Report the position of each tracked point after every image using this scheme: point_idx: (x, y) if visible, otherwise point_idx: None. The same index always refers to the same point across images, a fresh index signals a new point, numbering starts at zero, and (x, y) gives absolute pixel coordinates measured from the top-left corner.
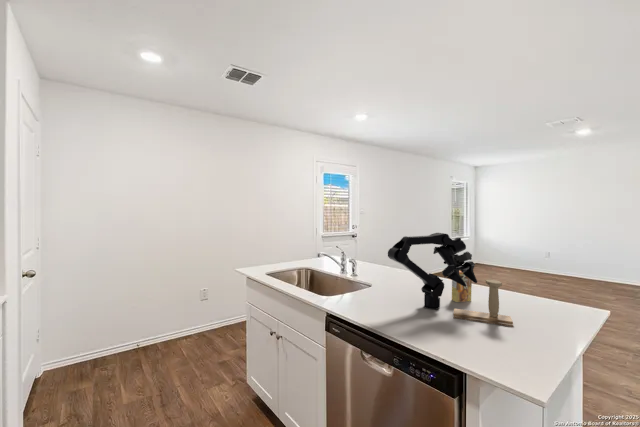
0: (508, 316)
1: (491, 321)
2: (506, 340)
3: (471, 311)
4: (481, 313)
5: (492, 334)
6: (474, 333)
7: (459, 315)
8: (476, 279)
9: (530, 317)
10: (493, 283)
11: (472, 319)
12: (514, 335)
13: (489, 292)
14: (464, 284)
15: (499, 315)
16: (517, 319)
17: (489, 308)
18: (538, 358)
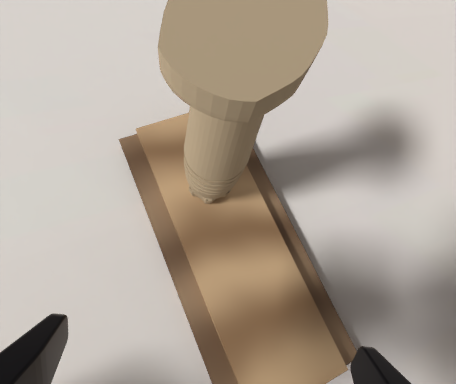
0: (148, 134)
1: (264, 181)
2: (381, 101)
3: (221, 306)
4: (210, 248)
5: (375, 147)
6: (428, 197)
7: (327, 333)
8: (21, 339)
9: (22, 82)
10: (324, 13)
11: (308, 259)
12: (314, 92)
13: (253, 132)
14: (382, 368)
15: (168, 168)
16: (104, 118)
17: (235, 183)
18: (417, 24)
